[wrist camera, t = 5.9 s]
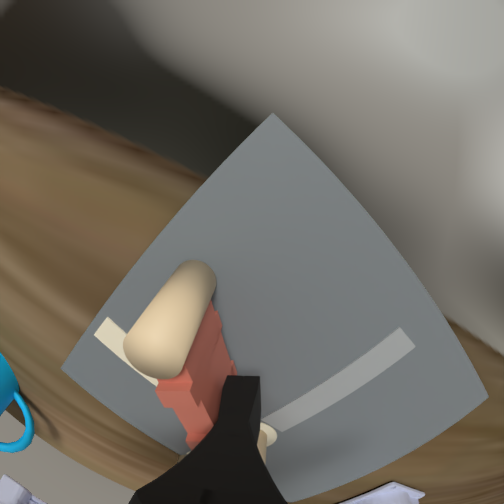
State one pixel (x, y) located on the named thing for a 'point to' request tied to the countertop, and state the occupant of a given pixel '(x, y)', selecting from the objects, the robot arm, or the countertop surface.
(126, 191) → the countertop surface
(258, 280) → the board
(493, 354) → the countertop surface
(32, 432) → the mug
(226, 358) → the fence panel
